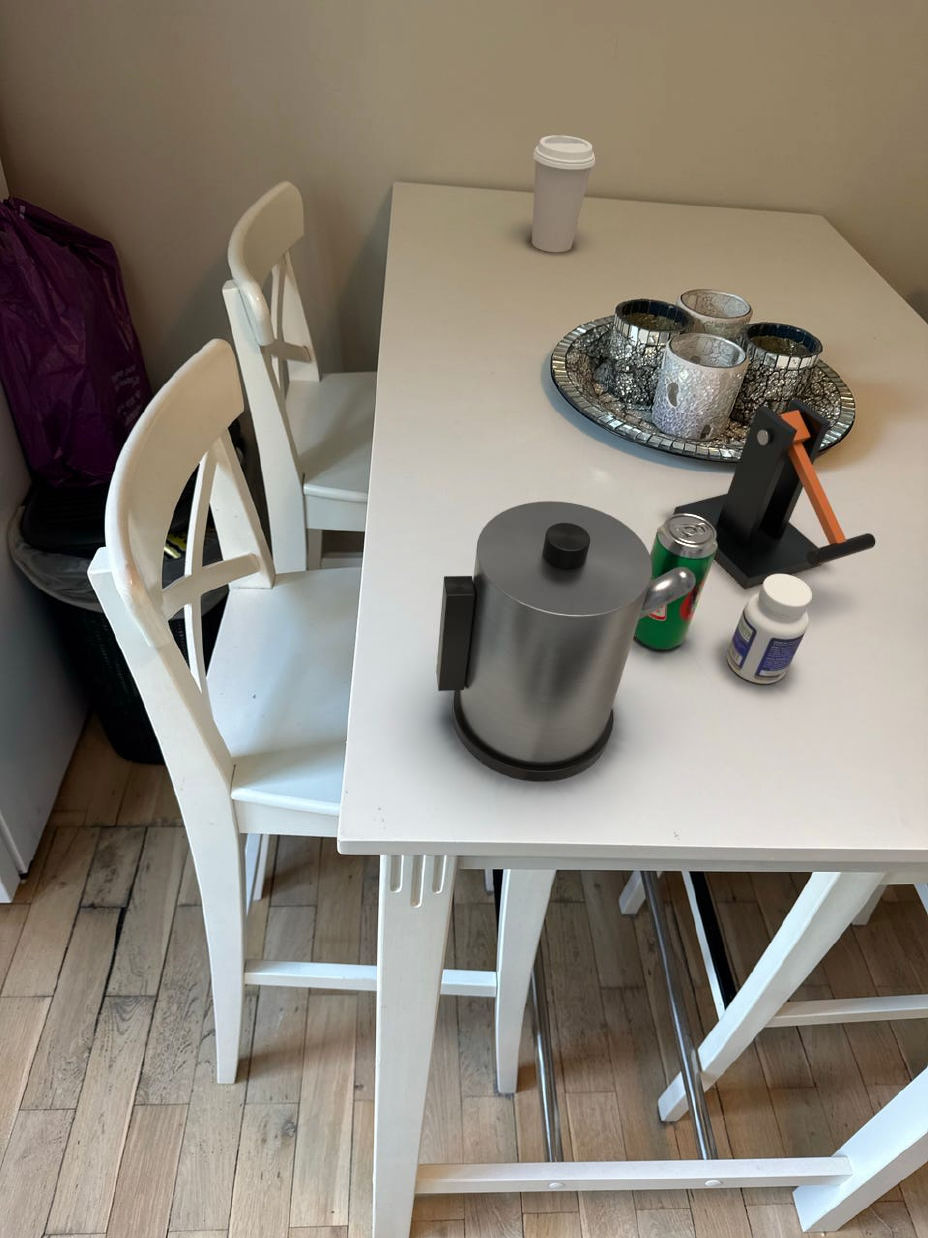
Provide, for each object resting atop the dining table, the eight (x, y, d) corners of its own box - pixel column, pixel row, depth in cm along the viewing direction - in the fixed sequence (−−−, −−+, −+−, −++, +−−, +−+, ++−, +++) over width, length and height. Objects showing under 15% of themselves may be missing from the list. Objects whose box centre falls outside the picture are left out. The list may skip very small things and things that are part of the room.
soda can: (619, 618, 81) (648, 514, 72) (668, 609, 82) (702, 506, 74) (643, 657, 77) (676, 553, 69) (694, 647, 79) (733, 544, 70)
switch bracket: (821, 564, 89) (881, 439, 78) (744, 588, 85) (796, 460, 75) (746, 496, 96) (791, 374, 86) (672, 516, 93) (710, 391, 82)
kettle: (630, 654, 78) (683, 478, 65) (669, 775, 68) (741, 600, 55) (428, 659, 75) (440, 478, 62) (441, 786, 66) (459, 605, 53)
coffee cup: (582, 237, 146) (599, 138, 135) (579, 259, 139) (596, 157, 128) (525, 229, 146) (537, 130, 136) (519, 251, 139) (531, 149, 129)
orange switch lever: (863, 552, 82) (882, 543, 79) (806, 570, 79) (824, 561, 77) (801, 417, 84) (818, 405, 82) (744, 431, 82) (760, 418, 79)
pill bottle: (793, 658, 79) (829, 585, 73) (775, 694, 75) (811, 621, 69) (736, 633, 81) (767, 559, 74) (716, 667, 77) (747, 593, 71)
